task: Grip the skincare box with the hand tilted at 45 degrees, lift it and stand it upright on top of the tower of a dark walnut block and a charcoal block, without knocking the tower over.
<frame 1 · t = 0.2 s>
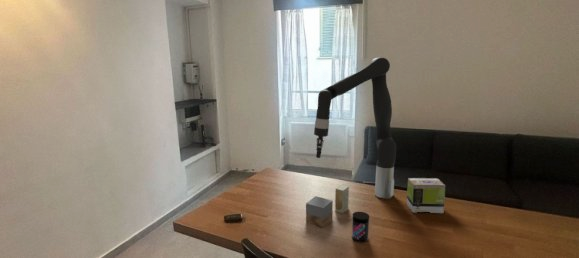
hand: (318, 155, 165), 23 cm above the table, tool pointing down, fingers open, 8 cm apart
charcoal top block: (319, 211, 138), point 5 cm above the table, touching walnut base block
skincare box: (341, 210, 150), on the table
walnut base block: (319, 221, 139), on the table, touching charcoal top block
supplement container: (360, 238, 125), on the table
tea box: (424, 209, 150), on the table
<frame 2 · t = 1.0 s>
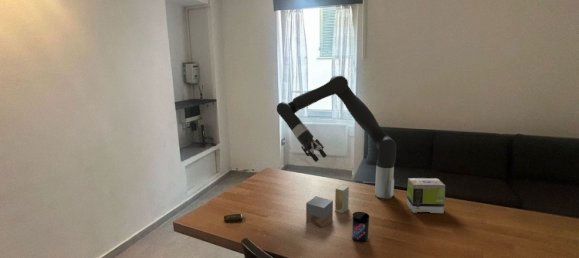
hand: (321, 158, 151), 25 cm above the table, tool tilted 45°, fingers open, 8 cm apart
nothing on the table moved.
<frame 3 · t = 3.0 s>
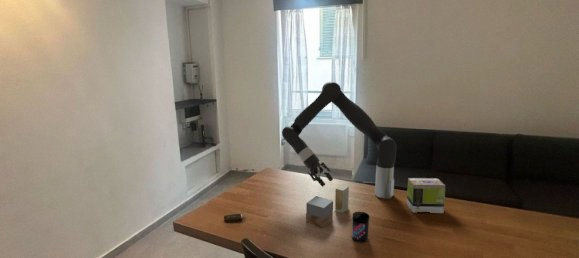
hand: (328, 182, 152), 13 cm above the table, tool tilted 45°, fingers open, 8 cm apart
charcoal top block: (319, 211, 138), point 5 cm above the table
walnut base block: (319, 221, 139), on the table
everything else where it was.
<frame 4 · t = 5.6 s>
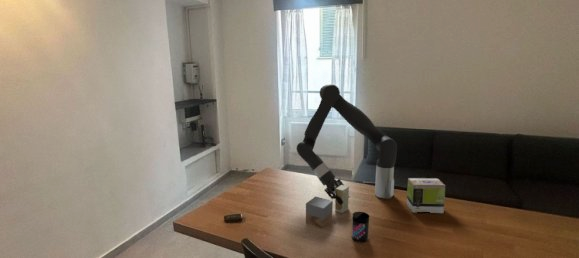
hand: (345, 201, 148), 5 cm above the table, tool tilted 45°, fingers closed on skincare box, 6 cm apart
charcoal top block: (319, 212, 138), point 5 cm above the table, touching walnut base block
skincare box: (341, 210, 150), on the table, touching gripper
walnut base block: (319, 222, 139), on the table, touching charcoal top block
everything else where it was.
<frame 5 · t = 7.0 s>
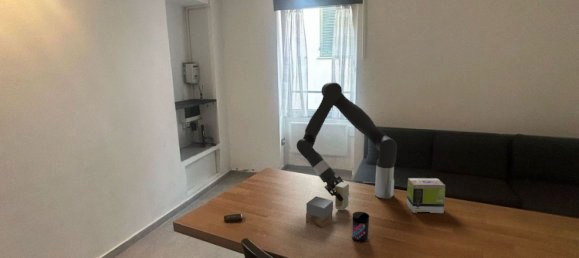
hand: (345, 198, 148), 7 cm above the table, tool tilted 45°, fingers closed on skincare box, 6 cm apart
skincare box: (341, 207, 150), point 1 cm above the table, touching gripper
everything else where it was.
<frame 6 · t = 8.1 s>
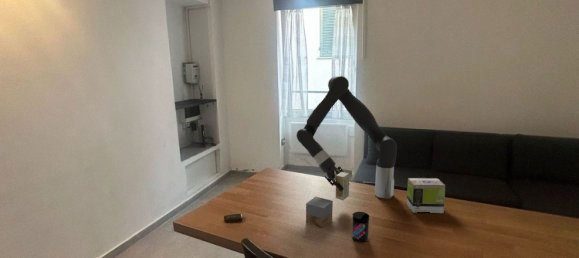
hand: (345, 187, 147), 12 cm above the table, tool tilted 45°, fingers closed on skincare box, 6 cm apart
skincare box: (342, 197, 149), point 7 cm above the table, touching gripper
everything else where it was.
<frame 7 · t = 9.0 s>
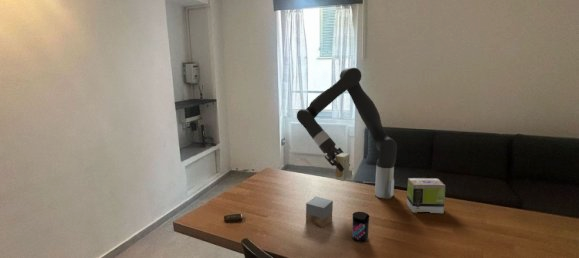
hand: (345, 168, 145), 22 cm above the table, tool tilted 45°, fingers closed on skincare box, 6 cm apart
skincare box: (342, 178, 147), point 17 cm above the table, touching gripper
everything else where it was.
when the fingers open (16 cm above the table, at t = 13.5 s): skincare box stays where it is, resting on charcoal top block.
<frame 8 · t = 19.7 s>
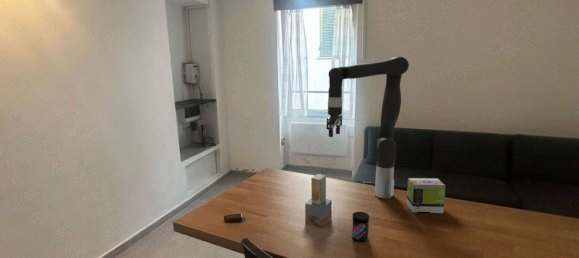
hand: (334, 135, 162), 34 cm above the table, tool pointing down, fingers open, 8 cm apart
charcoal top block: (318, 211, 138), point 5 cm above the table, touching skincare box, walnut base block
skincare box: (318, 201, 138), point 10 cm above the table, touching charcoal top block
everything else where it was.
at the end: skincare box point 9.6 cm above the table; skincare box 0.3 cm from the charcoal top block (horizontally); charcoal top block moved 0.4 cm from its start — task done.
